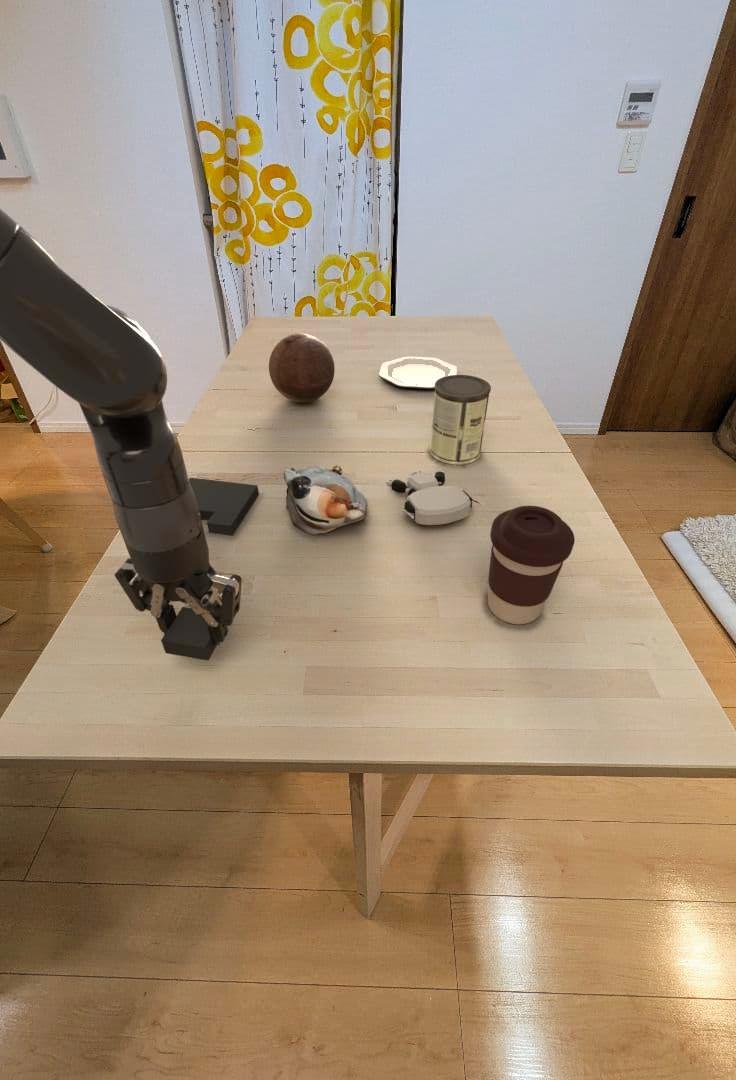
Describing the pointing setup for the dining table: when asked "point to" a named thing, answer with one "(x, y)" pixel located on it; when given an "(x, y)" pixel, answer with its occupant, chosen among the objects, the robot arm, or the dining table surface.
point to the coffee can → (459, 418)
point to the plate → (415, 373)
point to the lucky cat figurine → (322, 499)
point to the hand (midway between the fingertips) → (196, 635)
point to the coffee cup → (525, 561)
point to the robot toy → (432, 498)
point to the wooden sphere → (301, 367)
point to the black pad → (189, 636)
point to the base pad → (223, 503)
